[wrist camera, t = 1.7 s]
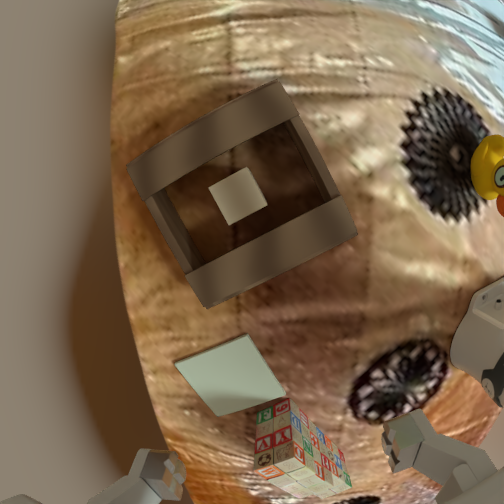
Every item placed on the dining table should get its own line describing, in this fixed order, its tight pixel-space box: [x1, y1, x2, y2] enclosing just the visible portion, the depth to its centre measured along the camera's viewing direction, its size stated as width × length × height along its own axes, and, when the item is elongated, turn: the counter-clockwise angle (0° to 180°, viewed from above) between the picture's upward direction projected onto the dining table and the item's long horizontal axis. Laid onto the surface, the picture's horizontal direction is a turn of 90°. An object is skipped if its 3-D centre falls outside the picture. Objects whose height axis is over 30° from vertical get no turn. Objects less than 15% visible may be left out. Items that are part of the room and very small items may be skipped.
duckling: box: [471, 135, 504, 217], centre depth 25 cm, size 11×5×10 cm, turn 166°
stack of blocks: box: [253, 398, 352, 499], centre depth 36 cm, size 21×6×12 cm, turn 35°
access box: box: [126, 79, 358, 309], centre depth 30 cm, size 18×18×5 cm
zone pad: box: [174, 333, 286, 417], centre depth 38 cm, size 12×12×1 cm
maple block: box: [209, 167, 267, 225], centre depth 29 cm, size 4×4×7 cm
